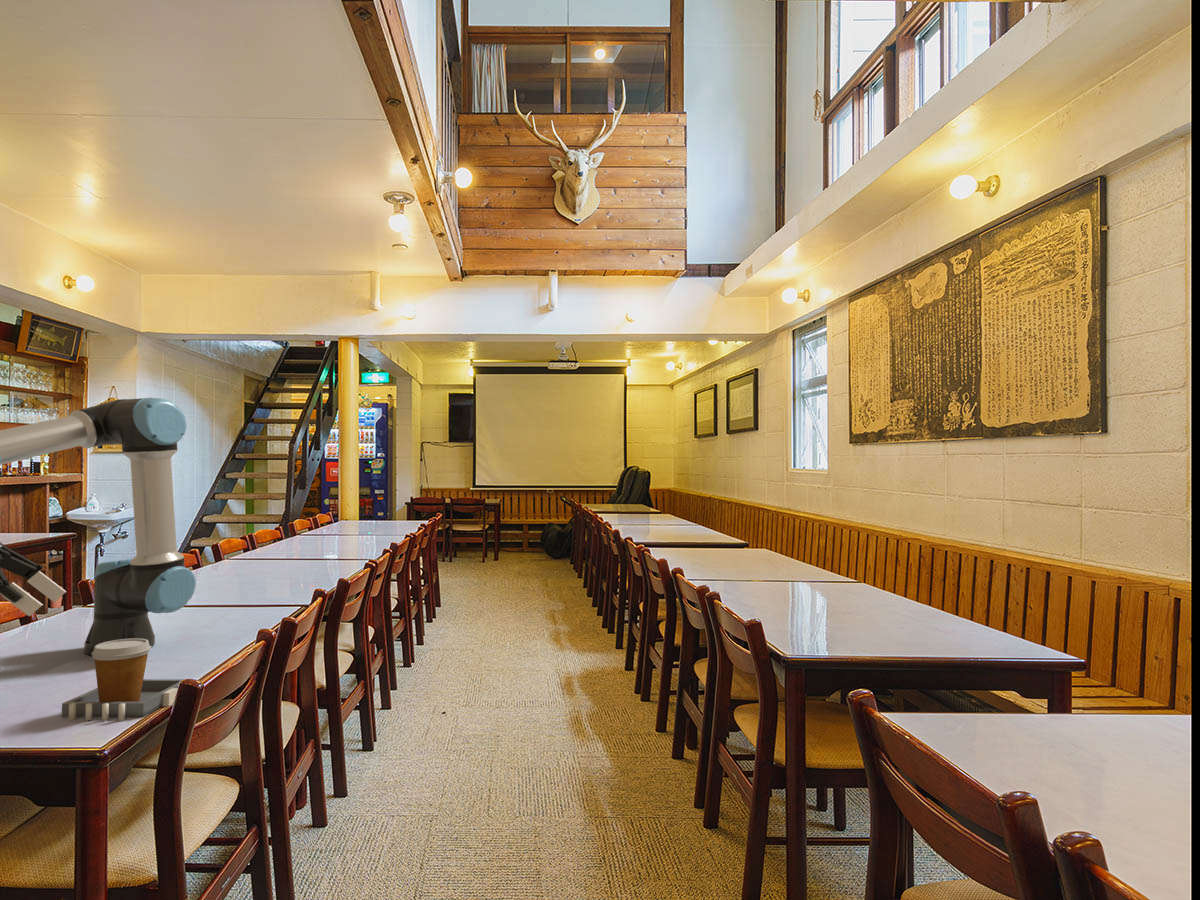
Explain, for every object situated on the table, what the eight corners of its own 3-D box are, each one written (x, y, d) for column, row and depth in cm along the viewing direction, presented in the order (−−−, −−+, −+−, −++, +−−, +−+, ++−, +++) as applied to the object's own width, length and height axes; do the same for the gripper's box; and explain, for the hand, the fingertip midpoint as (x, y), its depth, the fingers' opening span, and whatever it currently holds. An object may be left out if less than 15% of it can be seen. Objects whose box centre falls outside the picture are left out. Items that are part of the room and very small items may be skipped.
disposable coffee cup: (111, 698, 137) (113, 637, 138) (159, 697, 138) (161, 637, 138) (76, 714, 128) (79, 649, 128) (129, 714, 128) (131, 649, 129)
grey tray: (115, 691, 143) (116, 677, 143) (194, 691, 143) (194, 677, 143) (53, 721, 126) (53, 704, 126) (142, 721, 126) (143, 704, 126)
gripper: (-35, 537, 141) (53, 605, 147) (-102, 554, 118) (6, 632, 124) (-2, 511, 143) (84, 578, 149) (-62, 522, 120) (42, 601, 126)
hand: (49, 603), depth 136 cm, fingers open, 13 cm apart
